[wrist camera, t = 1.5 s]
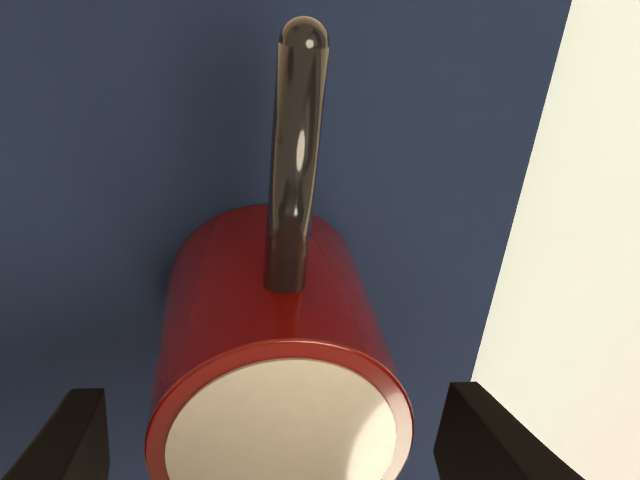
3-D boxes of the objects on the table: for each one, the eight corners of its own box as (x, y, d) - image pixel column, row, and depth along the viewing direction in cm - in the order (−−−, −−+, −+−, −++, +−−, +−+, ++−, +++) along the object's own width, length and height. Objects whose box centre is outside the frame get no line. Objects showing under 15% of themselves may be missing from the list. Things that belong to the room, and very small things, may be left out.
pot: (346, 363, 19) (394, 535, 14) (169, 365, 18) (147, 551, 13) (399, 2, 14) (504, 50, 9) (162, -20, 13) (122, 20, 8)
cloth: (439, 481, 23) (442, 487, 22) (-25, 502, 20) (-28, 510, 20) (568, -8, 15) (574, -7, 15) (-158, -80, 12) (-166, -80, 12)
